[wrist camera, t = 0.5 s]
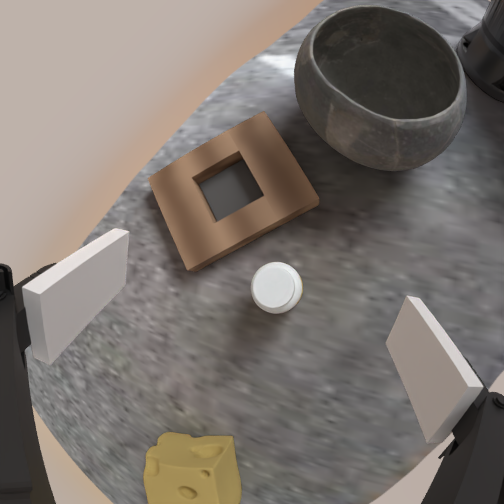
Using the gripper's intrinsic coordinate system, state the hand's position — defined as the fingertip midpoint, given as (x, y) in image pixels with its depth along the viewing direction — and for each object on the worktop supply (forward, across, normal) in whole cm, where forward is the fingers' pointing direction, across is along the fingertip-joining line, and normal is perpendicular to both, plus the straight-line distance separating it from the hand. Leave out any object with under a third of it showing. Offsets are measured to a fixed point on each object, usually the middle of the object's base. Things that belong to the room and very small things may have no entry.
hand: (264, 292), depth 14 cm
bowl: (+32, +11, +13) cm, 37 cm away
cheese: (+14, -1, -36) cm, 39 cm away
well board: (+30, -5, -1) cm, 30 cm away
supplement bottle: (+24, +4, -10) cm, 26 cm away
